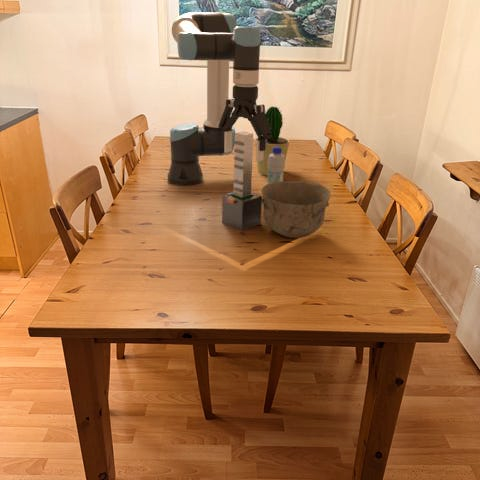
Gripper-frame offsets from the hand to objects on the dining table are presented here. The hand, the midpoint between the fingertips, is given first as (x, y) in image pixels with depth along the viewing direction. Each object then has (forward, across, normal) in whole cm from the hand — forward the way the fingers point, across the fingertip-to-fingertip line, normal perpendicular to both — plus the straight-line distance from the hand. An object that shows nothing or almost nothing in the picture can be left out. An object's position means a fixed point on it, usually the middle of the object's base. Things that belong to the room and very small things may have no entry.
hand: (243, 156), depth 141 cm
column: (+15, 0, 0) cm, 15 cm away
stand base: (+24, 0, 0) cm, 24 cm away
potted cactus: (+24, -33, +54) cm, 68 cm away
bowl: (+24, +16, +8) cm, 30 cm away
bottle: (+24, -11, +30) cm, 40 cm away
